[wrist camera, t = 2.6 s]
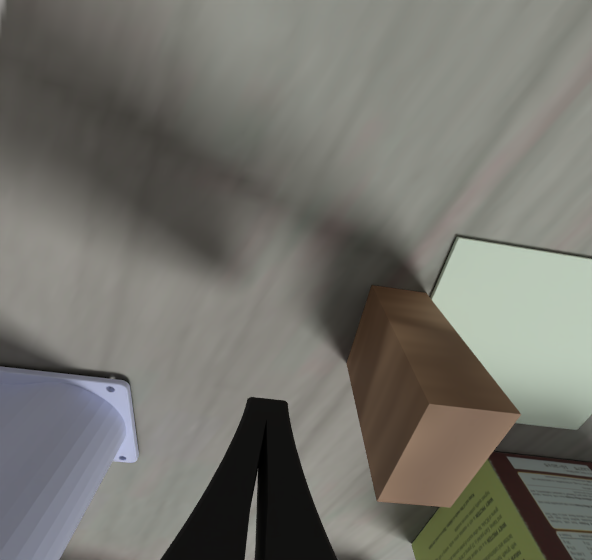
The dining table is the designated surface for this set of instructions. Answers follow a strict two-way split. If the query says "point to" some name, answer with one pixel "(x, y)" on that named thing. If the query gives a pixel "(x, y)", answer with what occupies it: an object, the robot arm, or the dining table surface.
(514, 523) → the protein box
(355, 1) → the dining table surface
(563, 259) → the mat
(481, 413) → the block
